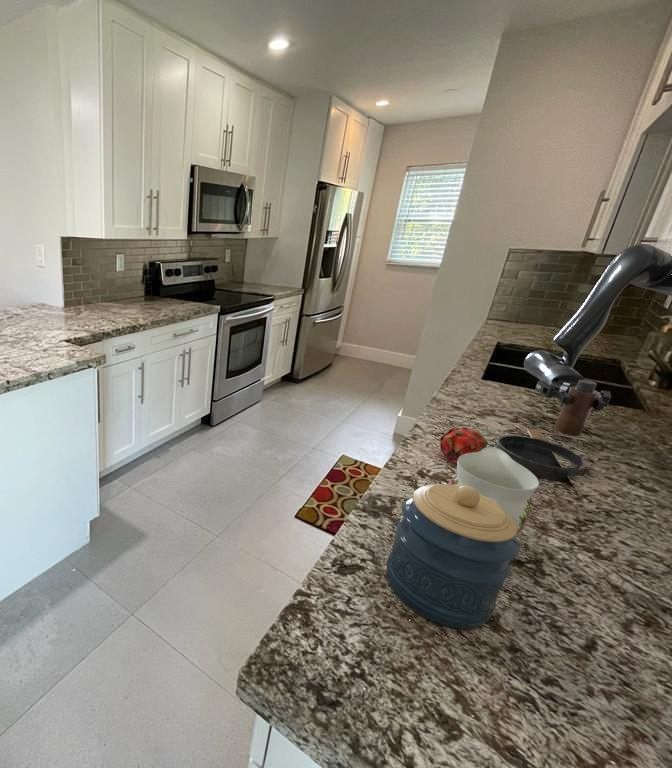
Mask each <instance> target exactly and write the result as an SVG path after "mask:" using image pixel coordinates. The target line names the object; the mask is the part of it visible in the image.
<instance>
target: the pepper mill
mask: <svg viewBox="0 0 672 768" xmlns="http://www.w3.org/2000/svg"><path fill="white" fill-rule="evenodd" d="M596 387H597V382H595V381H593V380H592V381H591V380H587V379H586V380H579V381H578V384H577V386H572V387H570V390H569V392H568V394H569V395H570V396H571V397H572V398H571V401H570V403H569V405H564V404H563V403H562V407H561V409H560V411H559V414H558V416H557V419H556V421H555V424H554V426H553V429H554V431H556V432H557V433H559V434H562V435H566V436H571V437H579V436H581V435H582V432H583V429H584V427H585V425H586V423H587V422H588V418H589V417H590V414H591V412H592V409H593V405H594V403H595V400H596V398H597V396H598V394H599V393H600V392H599V391H598V390H596Z"/></svg>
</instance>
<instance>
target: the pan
mask: <svg viewBox="0 0 672 768" xmlns="http://www.w3.org/2000/svg"><path fill="white" fill-rule="evenodd" d="M544 440H545V439H544ZM544 440H540V439H536V438H531V437H530V436H526V435H516V434H504V435H501V436H498V437H497V438H496V440H495V442H494V445H493V447H494V448H498V449H500V450H502V451H504V452H505V453H506V454H508V455H509V456H510V457H511V459H512V460H514V461H515V462H517V463H518V464H520V465H522V466H523V467H525V468H526V469H528V470H529V471H530V472H532V473H533V474H534V475H535V476H536V478H541V479H546V480H550V481H556V482H558V481H559V482H571V479H570V478H569V477H579V476H580V475H582V474H584V472H585V470H586V468H587V465H588V462H587V461H586V460H585V459H584V458H583V457H582V456H581V455H579V454H578V453H576V452H575V451H573V450H571V449H569V448H566V447H564V446H562V445H559V444H556V443H553V442H551V441H547V440H545V441H544ZM555 454H556V455H559V456H561V457H562V458H565V459H566V460H568V461H569V462H571V463H572V464H573V466H574V467H562V465H561V464H560V462H559V460H558V459H557V458H556V456H555Z"/></svg>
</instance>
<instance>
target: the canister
mask: <svg viewBox="0 0 672 768" xmlns="http://www.w3.org/2000/svg"><path fill="white" fill-rule="evenodd" d="M401 512H402V516H403V517H402V518H400V519H399V521H398V522H397V524H396V534H395V537H394V541H393V544H392V548H391V551H390V553H389V555H388V557H387V561H386V579H387V582H388V585H389V586H390V588H391V589H392V591H393V592H394V594H395V595H396V596H397V597H398V598H399V600H401V601H402V602H403V604H405V605H406V606H407V607H409V608H410V609H411V610H412V611H414V612H415V613H417V614H419V615H420V616H422V617H423V618H426V619H428V620H429V621H432V622H434V623H436V624H439V625H442V626H445V627H448V628H453V629H457V630H458V629H459V630H473V629H478V628H480V627H482V626H483V625H484V624H485V623H486V622H487V621H488V620H489V619H490V618H491V617H492V616H493V615H494V611H495V610H496V607H497V600H498V598H499V595H500V593H501V590H502V588H503V585H504V583H505V581H506V579H507V578H509V576H510V574H511V572H512V571H511V570H512V566H511V560H514V559H515V558H517V556H518V555H519V553H520V551H521V549H520V543H519V540H518V538H517V537H515V535H516V533H517V526H516V523H515V521H514V520H513V519H512V517H511V516H510V515H509V514H508V513H507V512H506V511H504V510H503V509H502V508H501V507H500V506H499V505H498V504H497V503H495V502H494V501H493V500H491V499H489V498H488V497H486V496H484V495H482V494H480V493H478V491H477V490H476V489H475V488H473V487H471V486H461V487H460V486H455V485H448V483H447V484H446V483H439V484H438V483H437V484H430V485H423V486H419V487H418V488H417V489H416V490H415V491H414V492H413V493H412V497H409V498H408V499H406V500H405V501H404V502H403V504H402V507H401Z"/></svg>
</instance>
